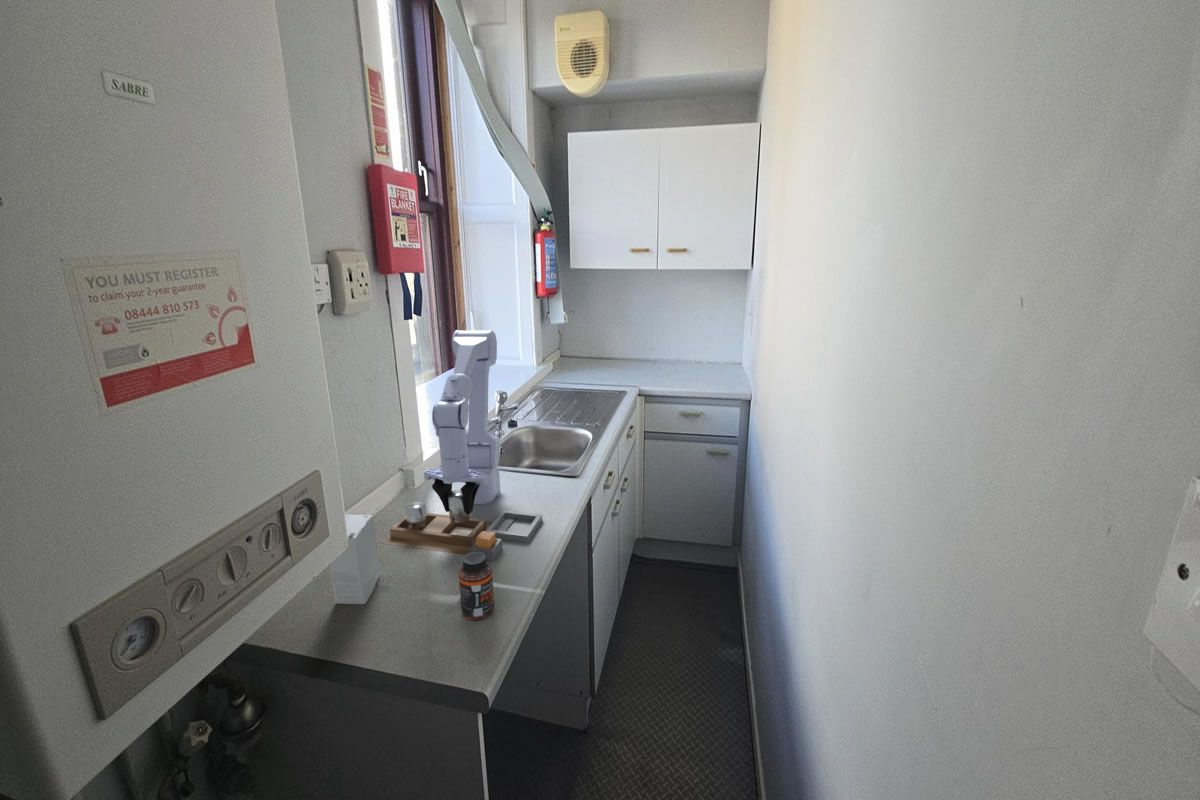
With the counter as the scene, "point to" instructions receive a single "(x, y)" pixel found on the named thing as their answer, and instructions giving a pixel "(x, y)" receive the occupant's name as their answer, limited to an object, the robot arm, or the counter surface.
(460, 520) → the billet
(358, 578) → the skincare box
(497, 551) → the button housing
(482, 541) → the button
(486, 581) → the supplement bottle
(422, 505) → the cylinder
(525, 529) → the shallow grey tray
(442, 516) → the wooden compartment tray
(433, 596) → the counter surface
